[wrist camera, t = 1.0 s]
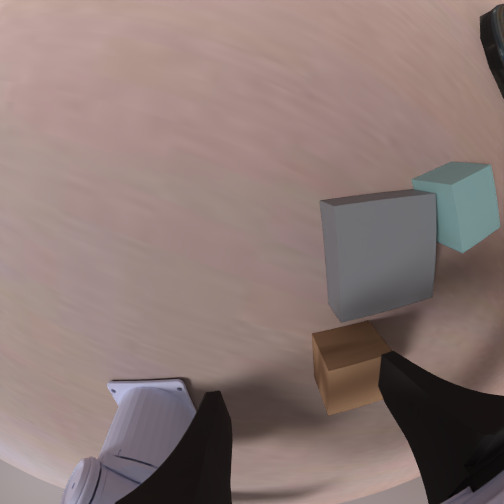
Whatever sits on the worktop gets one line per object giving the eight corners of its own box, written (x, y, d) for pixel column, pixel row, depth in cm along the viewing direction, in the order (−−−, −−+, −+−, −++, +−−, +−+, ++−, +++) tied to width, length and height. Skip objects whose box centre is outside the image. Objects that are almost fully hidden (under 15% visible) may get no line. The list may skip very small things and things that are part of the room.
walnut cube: (364, 363, 24) (385, 398, 19) (314, 376, 24) (328, 415, 19) (367, 319, 22) (393, 352, 17) (311, 333, 22) (328, 371, 17)
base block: (413, 283, 21) (432, 297, 19) (328, 303, 21) (340, 322, 19) (413, 189, 19) (435, 193, 16) (319, 200, 19) (333, 206, 16)
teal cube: (462, 215, 20) (500, 226, 15) (424, 236, 20) (462, 253, 16) (450, 161, 19) (490, 164, 14) (410, 179, 19) (451, 184, 14)
